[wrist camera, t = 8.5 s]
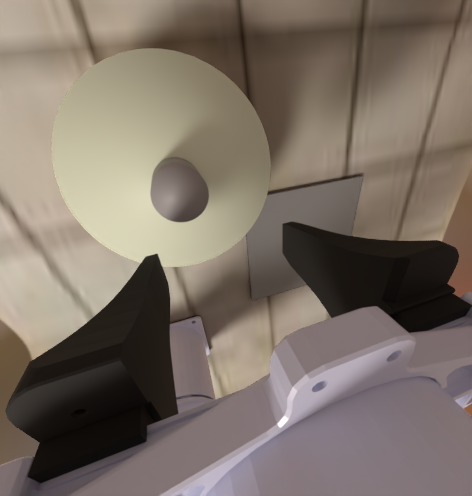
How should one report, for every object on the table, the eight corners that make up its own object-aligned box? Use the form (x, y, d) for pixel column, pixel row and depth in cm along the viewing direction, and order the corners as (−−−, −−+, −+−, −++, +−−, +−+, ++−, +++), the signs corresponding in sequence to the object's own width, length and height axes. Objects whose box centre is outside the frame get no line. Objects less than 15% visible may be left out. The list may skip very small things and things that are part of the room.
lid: (116, 279, 17) (106, 317, 14) (-1, 68, 10) (-75, 46, 7) (269, 236, 20) (291, 261, 16) (257, 40, 13) (292, 14, 9)
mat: (251, 298, 30) (252, 300, 29) (243, 198, 22) (244, 199, 22) (341, 272, 33) (343, 274, 32) (360, 175, 25) (363, 176, 25)
